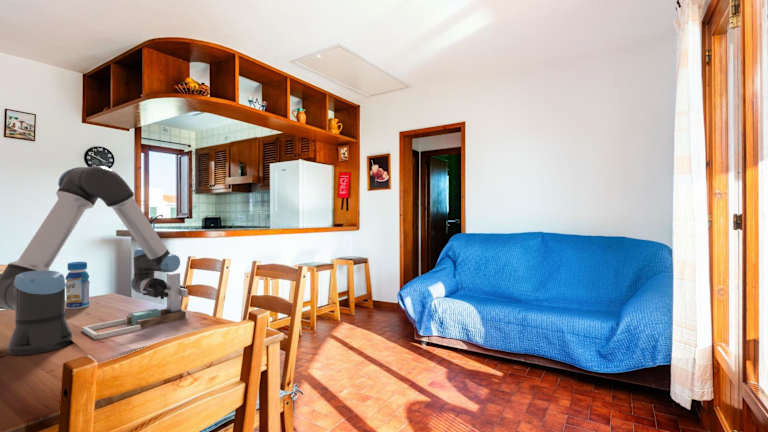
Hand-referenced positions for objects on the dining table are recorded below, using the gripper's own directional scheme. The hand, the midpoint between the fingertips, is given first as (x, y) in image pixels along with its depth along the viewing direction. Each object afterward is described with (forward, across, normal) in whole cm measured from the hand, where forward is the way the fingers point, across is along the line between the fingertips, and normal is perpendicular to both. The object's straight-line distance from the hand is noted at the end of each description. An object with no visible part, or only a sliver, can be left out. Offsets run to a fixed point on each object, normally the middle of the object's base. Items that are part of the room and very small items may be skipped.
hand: (179, 294), depth 143 cm
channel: (-5, +6, -11) cm, 14 cm away
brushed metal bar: (-5, 0, -10) cm, 11 cm away
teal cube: (-5, +12, -10) cm, 16 cm away
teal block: (-5, +8, -10) cm, 13 cm away
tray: (-5, +20, -11) cm, 24 cm away
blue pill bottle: (-62, +16, -11) cm, 65 cm away
